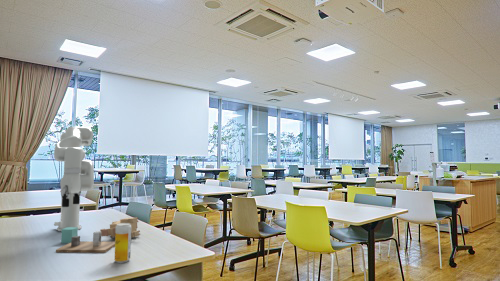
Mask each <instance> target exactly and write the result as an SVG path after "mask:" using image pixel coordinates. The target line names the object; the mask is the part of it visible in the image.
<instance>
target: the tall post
mask: <svg viewBox="0 0 500 281" xmlns="http://www.w3.org/2000/svg"><path fill="white" fill-rule="evenodd" d="M101 232H102V231H100V230H99V231H98V230H97V231H96V230H95V231H93V234H92V235H93V236H92V241H93V246H100V245H101V242H102V236H101Z"/></svg>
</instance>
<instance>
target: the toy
mask: <svg viewBox="0 0 500 281" xmlns="http://www.w3.org/2000/svg"><path fill="white" fill-rule="evenodd" d="M138 219H139V217H125V218H121V219H119V220H118V221H116V220H115V221H112V222H111V224H109V228H102V229H100V230H99V231H102V232H101V237H109V236H110V238H115V230H116V226H117V224H120V223H130V225H131V238H134V237H139V236H141V231H140V230H139V229H138V223H139V220H138Z"/></svg>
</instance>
